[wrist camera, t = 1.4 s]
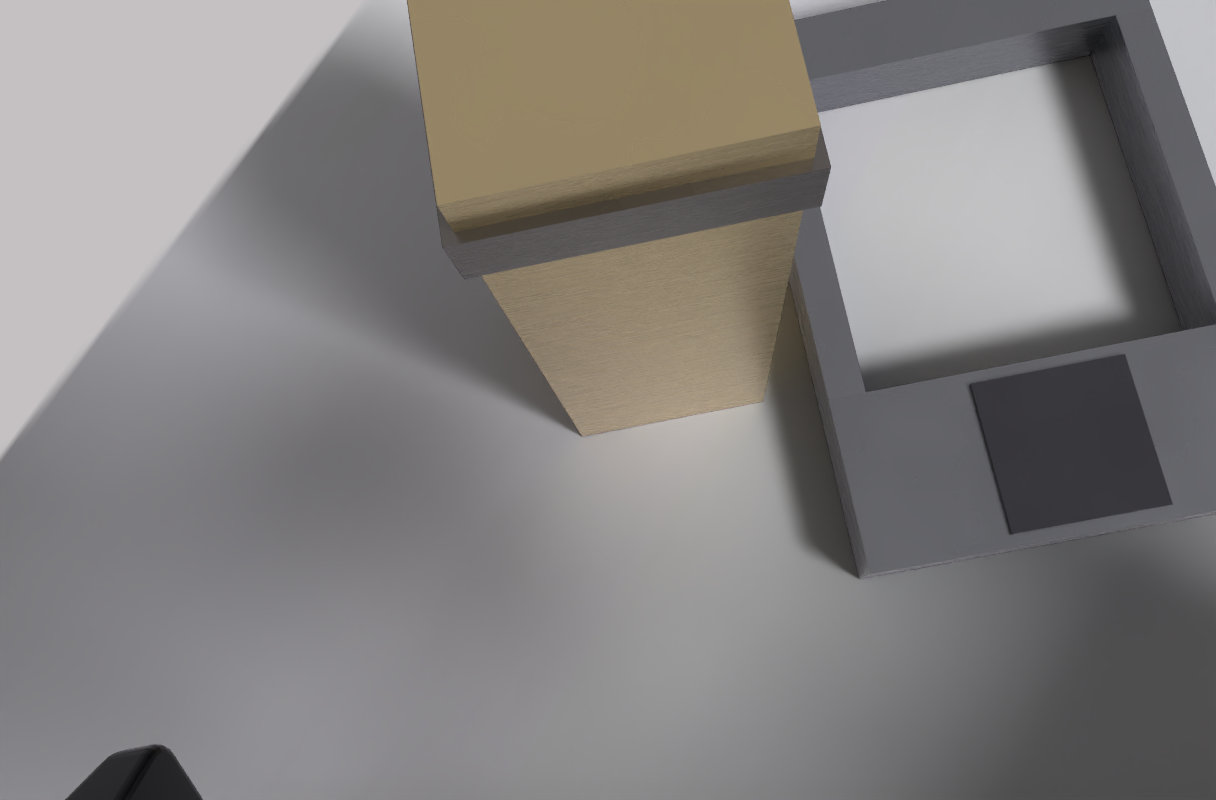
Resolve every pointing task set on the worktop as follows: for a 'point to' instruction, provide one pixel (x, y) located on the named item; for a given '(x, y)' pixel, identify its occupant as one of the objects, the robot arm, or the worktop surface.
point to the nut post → (625, 187)
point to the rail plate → (1037, 389)
